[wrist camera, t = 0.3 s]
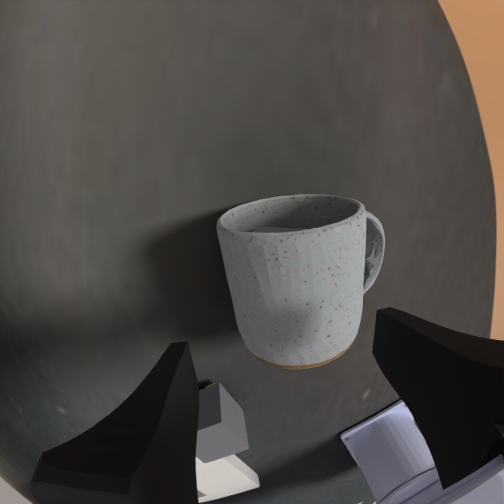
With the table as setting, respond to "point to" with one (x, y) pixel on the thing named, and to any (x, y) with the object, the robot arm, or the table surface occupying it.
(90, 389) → the table surface
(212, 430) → the plug
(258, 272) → the ceramic mug
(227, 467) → the socket
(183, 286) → the table surface
